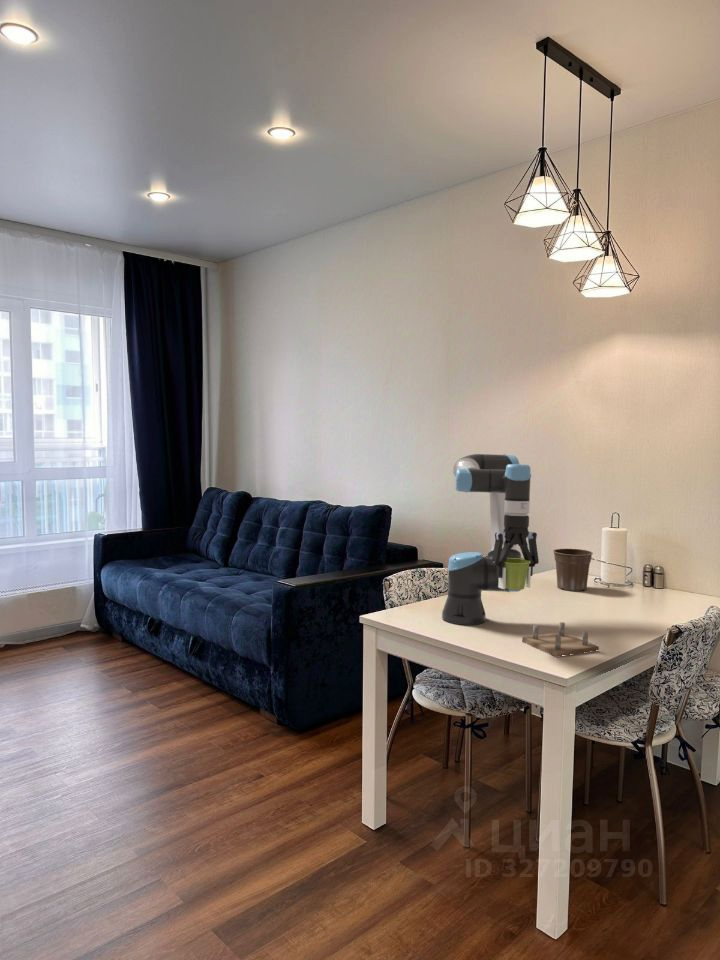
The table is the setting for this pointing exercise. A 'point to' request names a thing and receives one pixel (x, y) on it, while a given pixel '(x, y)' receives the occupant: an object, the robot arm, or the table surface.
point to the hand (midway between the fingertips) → (514, 587)
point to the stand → (560, 642)
